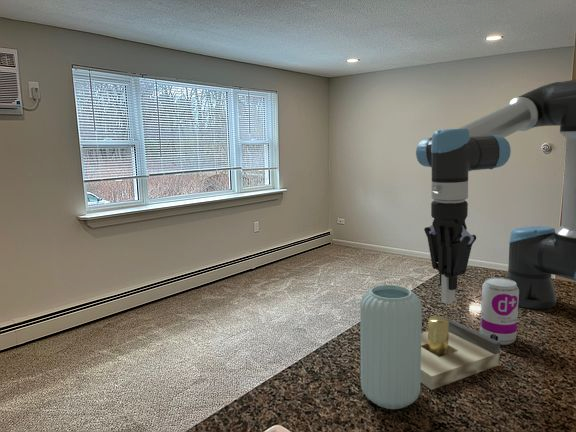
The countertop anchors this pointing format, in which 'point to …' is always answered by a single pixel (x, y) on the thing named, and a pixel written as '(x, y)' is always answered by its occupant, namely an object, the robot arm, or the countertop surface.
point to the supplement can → (499, 310)
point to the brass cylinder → (438, 335)
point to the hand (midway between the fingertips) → (447, 301)
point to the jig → (458, 356)
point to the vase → (390, 346)
